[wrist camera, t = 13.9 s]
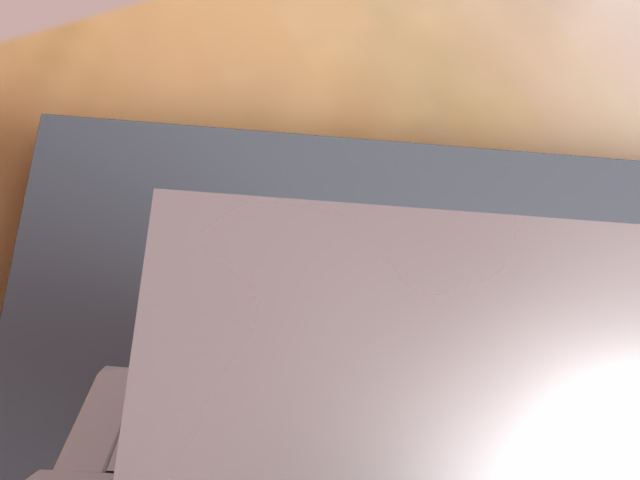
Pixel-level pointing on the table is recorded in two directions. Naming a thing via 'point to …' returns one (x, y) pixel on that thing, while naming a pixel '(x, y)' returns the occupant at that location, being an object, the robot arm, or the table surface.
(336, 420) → the square bit
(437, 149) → the socket board
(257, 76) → the table surface
